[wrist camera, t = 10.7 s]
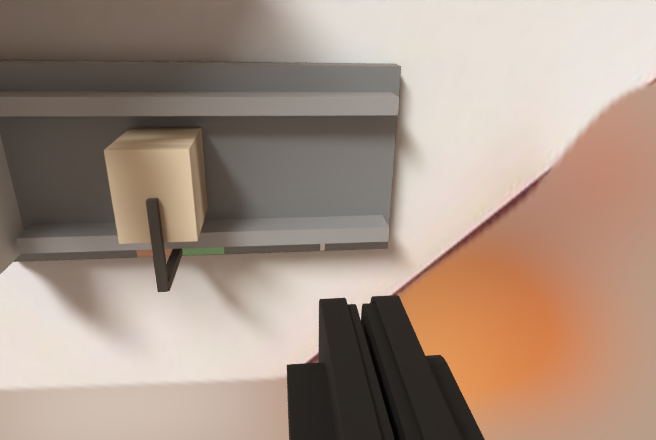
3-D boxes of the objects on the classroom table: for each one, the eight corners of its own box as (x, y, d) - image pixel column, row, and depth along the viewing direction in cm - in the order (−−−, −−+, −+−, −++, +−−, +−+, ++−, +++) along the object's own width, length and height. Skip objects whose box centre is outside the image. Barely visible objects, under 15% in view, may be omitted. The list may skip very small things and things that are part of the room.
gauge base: (394, 63, 30) (433, 78, 23) (382, 239, 35) (411, 294, 28) (-42, 59, 27) (-146, 75, 20) (9, 251, 32) (-62, 317, 25)
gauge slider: (201, 127, 28) (187, 152, 23) (211, 249, 31) (201, 294, 26) (130, 127, 28) (100, 153, 23) (147, 251, 31) (124, 297, 26)
